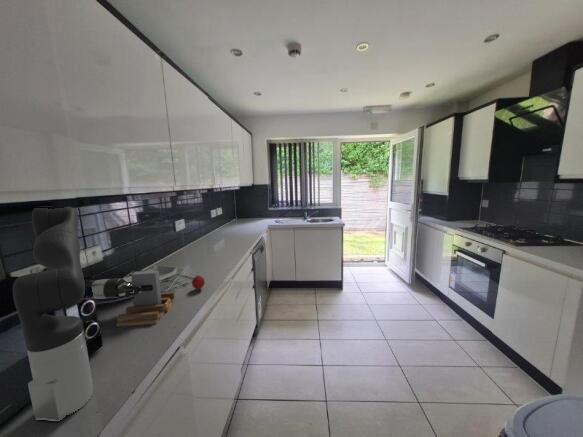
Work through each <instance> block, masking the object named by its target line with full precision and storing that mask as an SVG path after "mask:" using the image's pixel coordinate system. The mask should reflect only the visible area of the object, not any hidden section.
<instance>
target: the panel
mask: <svg viewBox="0 0 583 437" xmlns="http://www.w3.org/2000/svg"><path fill="white" fill-rule="evenodd" d="M159 272H160V270H144V271H135V272H133V273H131V275H130V276H131V281H132V285H137V286H138V285H141V286H143V285H152V286H153V290H152V291H142V292H138V294H137V295H133V301H134V303H135V306H145V305H158V304H162V300H161V293H162V291H161V283H160V282H161V281H160V280H161V279H160V273H159Z"/></svg>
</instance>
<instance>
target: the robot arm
mask: <svg viewBox="0 0 583 437" xmlns="http://www.w3.org/2000/svg"><path fill="white" fill-rule="evenodd" d="M31 226H32V229H33V231H34V234H35V238H36V239H35V241H34V244H33V249H32V256H33V259H34V260H35V261H36V262H37V263H38V264H39V265H40V266H43V267H44V268H45V270H43V271H38V272H33V273H28V274H24V275H23V274H22V275H21V276H18V277H17V278H16V279H15V280H14V281H13V282H14V283H13V285H12V296H13V297H12V298H13V302H14V306H15V309H16V312H17V316H18V319H19V322H20V325H21V330H22V333H23V339H24V342H25V347H26V352H27V357H28V361H29V366H30V370H31V371H30V372H31V376H32V380H31V381H29V382H28V384H27V386H28V392H29V397H30V401H31V405H32V406H31V407H32V410H33V415H34V419H35V418H47V419H55V420H60V419H62V418H63V417H64V416H66V415H69V414H70V415H72V414H74V413H75V411H76V412H78V409H79V410H80V409H81V408H82V407H84V406H85V405H86V404H87V403H88V402H89V401H90V400H91V398H92V397H91V396H93V395H94V385H93V384H94V383H93V379H92V378H93V376H92V370H91V366H90V361H89V360H90V358H89V353H88V347H87V342H86V336H85V329H84V328H85V327H84V322H83V320H82V318H80V317H79V316H74V315H51V314H49V313H53V312H56V311H61V310H64V309H67V308H71V307H74V306H77V305H78V304H80V303H81V302H82V301H83V300H84V299H83V298H84V295H85V281H86V280H85V278H84V273H83V270H82V264H81V247H80V239H79V234H78V231H79V230H78V229H79V215H78V212H77V210H76V209H75V208H74V207H71V206H67V207H64V208H55V209H51V208H50V209H48V208H36V207H35V208H33V209H32V212H31ZM91 281H92V292H93V298H94V300H95V299H97V300H98V299H99V300H101V299H115V298H116V299H121V298H126V297H132V296H134V295H137V294H138V292H142V291H152V290H153V286H152V285H143V286H141V285H138V286H137V285H132V280H128V281H126V280H125V279H124V278H121V277H120V278H118V277H117V278H103V279H97V280H96V279H95V280H93V279H92V280H91ZM89 399H90V400H89ZM73 412H74V413H73ZM71 413H72V414H71ZM70 415H69V416H70Z"/></svg>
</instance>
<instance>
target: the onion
mask: <svg viewBox="0 0 583 437" xmlns="http://www.w3.org/2000/svg"><path fill="white" fill-rule="evenodd" d="M191 285H192V287H193V289H196V290H198V291H199V290H201V289H202V288H203V287H204V285H205V279H204V277H203V276H201V275H199V274H196V275H195V276H194V278H193V279H192V281H191Z"/></svg>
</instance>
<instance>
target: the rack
mask: <svg viewBox="0 0 583 437" xmlns="http://www.w3.org/2000/svg"><path fill="white" fill-rule="evenodd" d="M176 296H177V295H176V293H175V291H169V292H168V291H166V292H163V291H161V300H162V304H158V305H145V306H135V303H134V300H133V301H132V302H133V306H127V307H126V308H125V313H122V314H118V315H117V316H116V320H117V323H115V324H116V327H117V328H120V327H129V326H141V325H142V326H143V325H145V326H146V325H155V324H158V323H159V322H160V320H161V319H162V317H163V316H164V314H165V313H167V312H169V310H170V309H171V308H172V304H173V302H174V301H175V300H176V298H177V297H176Z"/></svg>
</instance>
